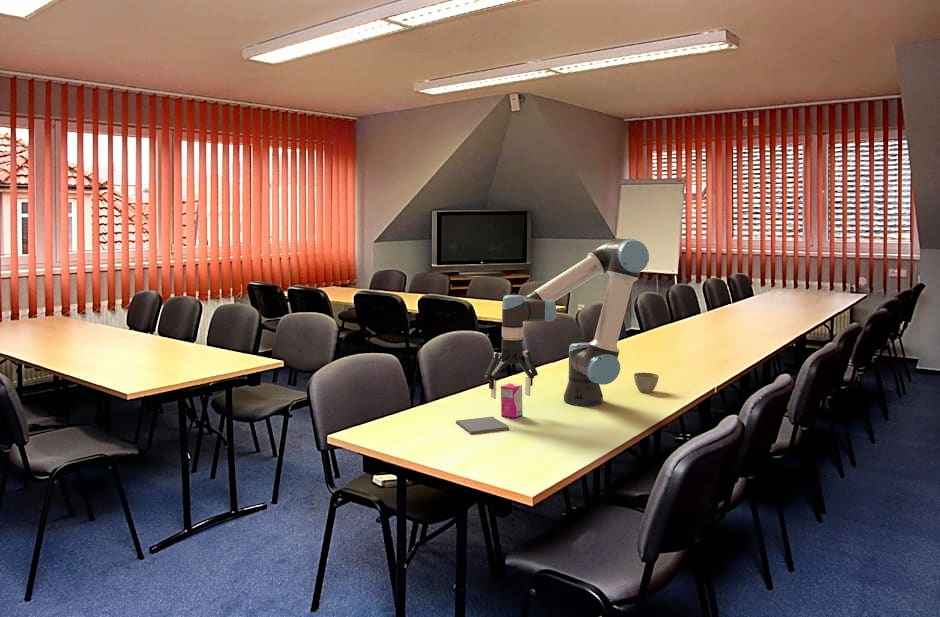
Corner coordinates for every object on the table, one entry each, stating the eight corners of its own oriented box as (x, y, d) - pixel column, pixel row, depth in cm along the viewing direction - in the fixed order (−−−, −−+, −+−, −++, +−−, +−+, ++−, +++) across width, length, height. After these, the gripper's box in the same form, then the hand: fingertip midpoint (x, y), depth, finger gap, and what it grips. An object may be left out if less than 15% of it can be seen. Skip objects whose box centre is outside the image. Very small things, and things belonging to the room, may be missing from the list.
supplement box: (509, 413, 270) (510, 382, 269) (523, 416, 267) (523, 385, 265) (500, 416, 266) (500, 385, 265) (513, 419, 262) (513, 388, 261)
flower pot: (661, 390, 304) (662, 373, 303) (653, 395, 296) (654, 378, 295) (638, 388, 310) (638, 371, 309) (629, 392, 301) (630, 375, 300)
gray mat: (492, 419, 263) (492, 416, 262) (509, 429, 250) (509, 426, 249) (455, 423, 257) (455, 420, 257) (470, 434, 244) (470, 431, 244)
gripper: (538, 335, 271) (536, 391, 273) (475, 338, 262) (474, 396, 264) (548, 338, 264) (546, 396, 267) (484, 341, 255) (482, 401, 257)
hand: (510, 396), depth 265 cm, fingers open, 13 cm apart
